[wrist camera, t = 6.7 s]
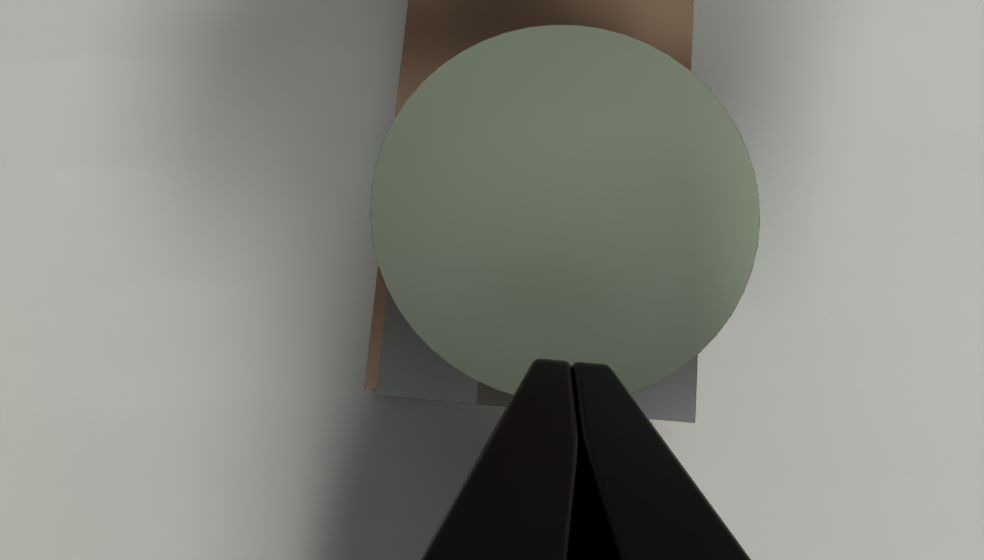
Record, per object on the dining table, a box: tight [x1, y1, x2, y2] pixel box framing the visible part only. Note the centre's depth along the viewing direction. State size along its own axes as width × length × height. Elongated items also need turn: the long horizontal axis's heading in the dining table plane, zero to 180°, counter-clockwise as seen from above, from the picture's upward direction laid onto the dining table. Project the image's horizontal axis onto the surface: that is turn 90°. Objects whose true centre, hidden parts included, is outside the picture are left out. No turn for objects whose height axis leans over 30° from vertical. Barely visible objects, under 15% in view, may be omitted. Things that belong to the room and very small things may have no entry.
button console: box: [365, 0, 698, 423], centre depth 18 cm, size 21×9×8 cm, turn 175°
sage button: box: [370, 25, 760, 395], centre depth 12 cm, size 6×6×5 cm
